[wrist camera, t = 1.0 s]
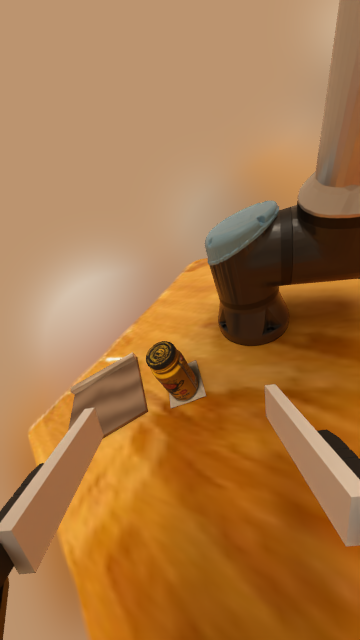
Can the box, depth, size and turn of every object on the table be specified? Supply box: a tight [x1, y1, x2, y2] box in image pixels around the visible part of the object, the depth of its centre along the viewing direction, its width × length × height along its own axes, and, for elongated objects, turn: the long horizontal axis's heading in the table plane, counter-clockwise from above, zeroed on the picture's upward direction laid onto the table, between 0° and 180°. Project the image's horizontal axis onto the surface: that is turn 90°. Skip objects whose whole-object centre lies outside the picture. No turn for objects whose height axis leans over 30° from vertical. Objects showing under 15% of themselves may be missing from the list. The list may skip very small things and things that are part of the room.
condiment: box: [146, 341, 206, 408], centre depth 32 cm, size 7×8×12 cm
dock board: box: [68, 352, 148, 439], centre depth 39 cm, size 16×18×2 cm
